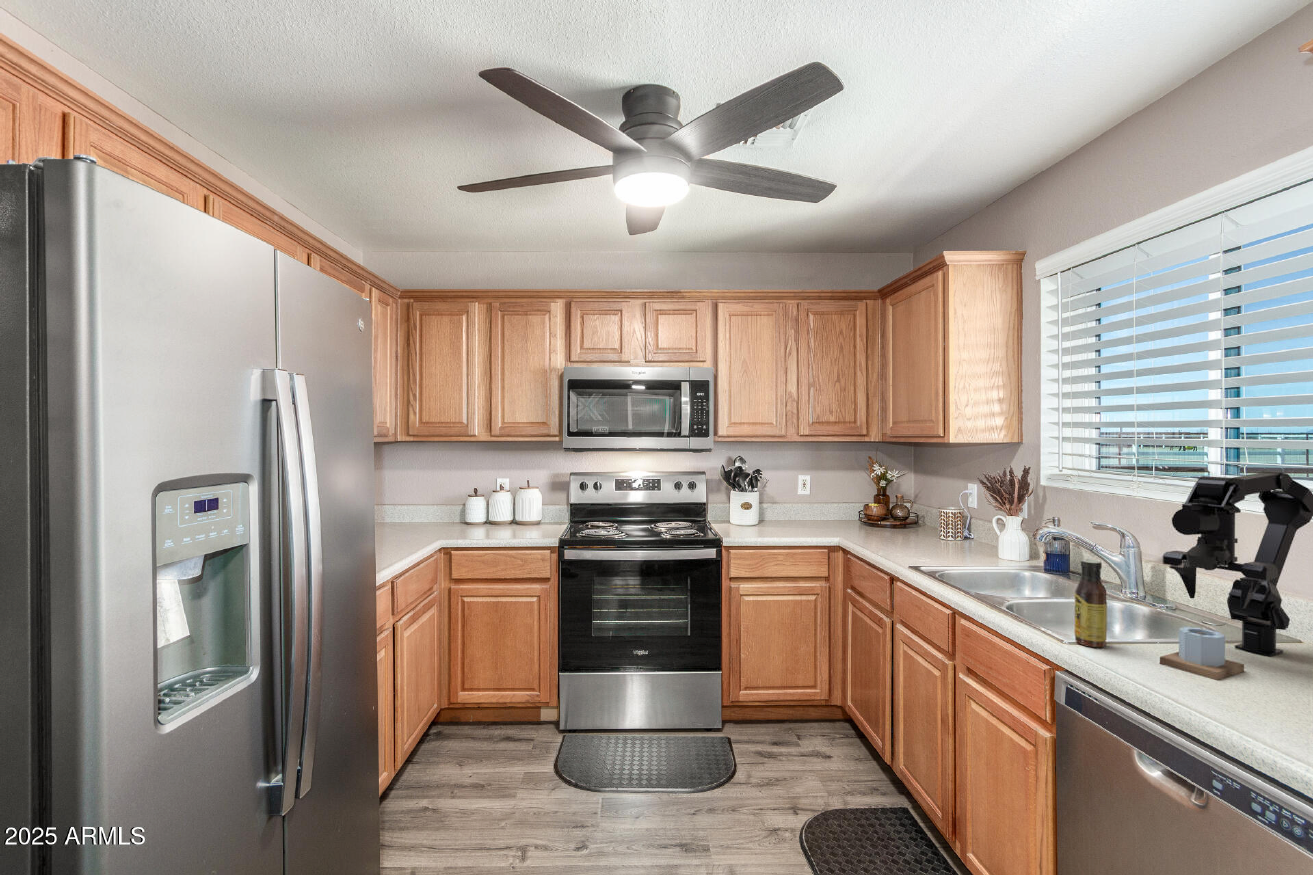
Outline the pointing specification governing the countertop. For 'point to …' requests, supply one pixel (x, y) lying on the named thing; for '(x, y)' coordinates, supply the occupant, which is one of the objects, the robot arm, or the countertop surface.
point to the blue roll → (1202, 646)
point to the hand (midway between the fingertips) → (1216, 603)
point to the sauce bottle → (1090, 606)
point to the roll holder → (1202, 666)
